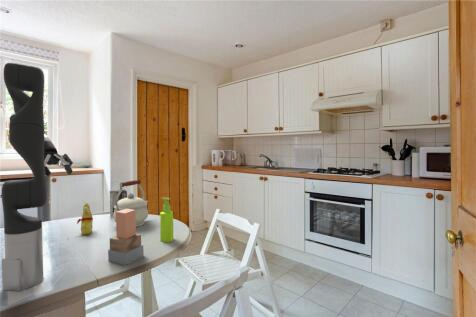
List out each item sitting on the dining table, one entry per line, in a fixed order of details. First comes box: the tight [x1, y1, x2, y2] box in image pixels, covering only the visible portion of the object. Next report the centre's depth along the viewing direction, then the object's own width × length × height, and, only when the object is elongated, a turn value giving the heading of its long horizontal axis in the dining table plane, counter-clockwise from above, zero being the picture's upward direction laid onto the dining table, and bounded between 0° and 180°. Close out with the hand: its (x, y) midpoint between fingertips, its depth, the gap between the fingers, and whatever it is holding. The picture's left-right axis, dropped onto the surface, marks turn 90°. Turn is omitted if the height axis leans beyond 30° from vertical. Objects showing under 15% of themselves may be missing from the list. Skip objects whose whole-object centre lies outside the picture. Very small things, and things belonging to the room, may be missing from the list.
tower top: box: [109, 233, 142, 253], centre depth 101 cm, size 8×8×4 cm
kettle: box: [112, 179, 149, 228], centre depth 147 cm, size 25×18×25 cm
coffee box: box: [109, 189, 128, 218], centre depth 165 cm, size 9×6×16 cm
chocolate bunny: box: [76, 203, 94, 235], centre depth 132 cm, size 7×11×15 cm, turn 24°
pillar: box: [115, 209, 137, 239], centre depth 100 cm, size 5×5×10 cm
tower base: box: [107, 244, 145, 266], centre depth 101 cm, size 9×9×4 cm
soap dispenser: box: [159, 196, 174, 243], centre depth 121 cm, size 6×7×20 cm
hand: (60, 174), depth 105 cm, fingers open, 8 cm apart
